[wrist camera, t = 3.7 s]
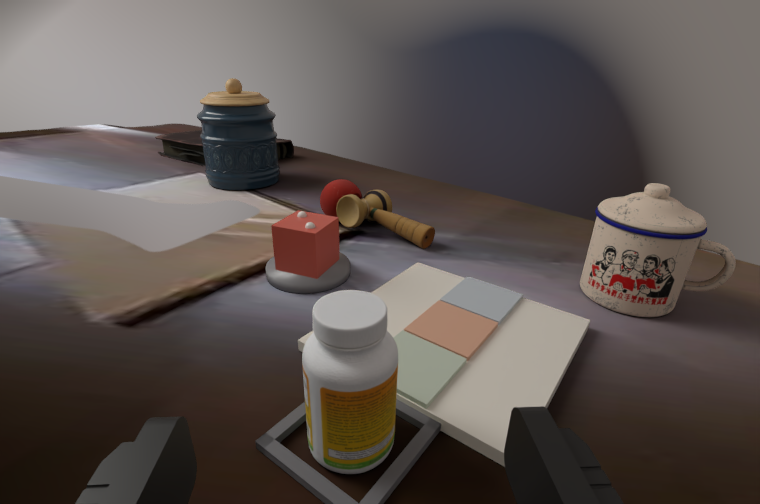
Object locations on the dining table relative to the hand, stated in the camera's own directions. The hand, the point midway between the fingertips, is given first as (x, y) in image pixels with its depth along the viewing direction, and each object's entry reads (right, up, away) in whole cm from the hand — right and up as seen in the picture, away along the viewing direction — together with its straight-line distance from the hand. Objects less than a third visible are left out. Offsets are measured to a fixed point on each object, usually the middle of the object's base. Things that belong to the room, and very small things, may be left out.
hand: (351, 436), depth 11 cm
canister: (-24, +18, +68) cm, 74 cm away
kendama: (0, +7, +48) cm, 48 cm away
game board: (+4, -4, +23) cm, 23 cm away
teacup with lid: (+27, 0, +32) cm, 42 cm away
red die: (-7, +2, +36) cm, 37 cm away
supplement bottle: (-1, -7, +16) cm, 18 cm away
